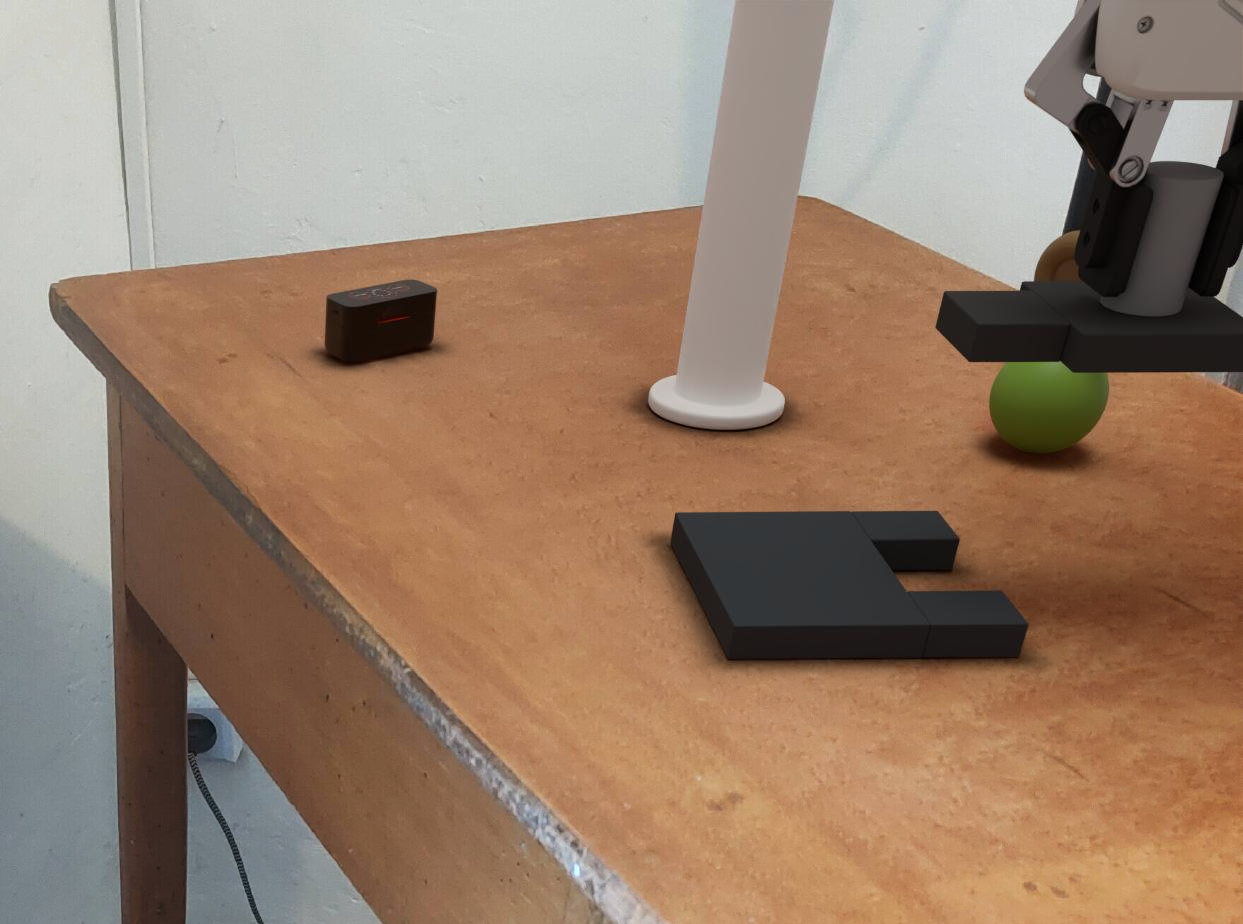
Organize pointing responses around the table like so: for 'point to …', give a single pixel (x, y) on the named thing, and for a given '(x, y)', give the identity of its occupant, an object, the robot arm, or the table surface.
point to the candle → (747, 217)
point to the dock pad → (837, 586)
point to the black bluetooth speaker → (380, 320)
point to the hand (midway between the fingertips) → (1147, 282)
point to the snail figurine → (1048, 382)
